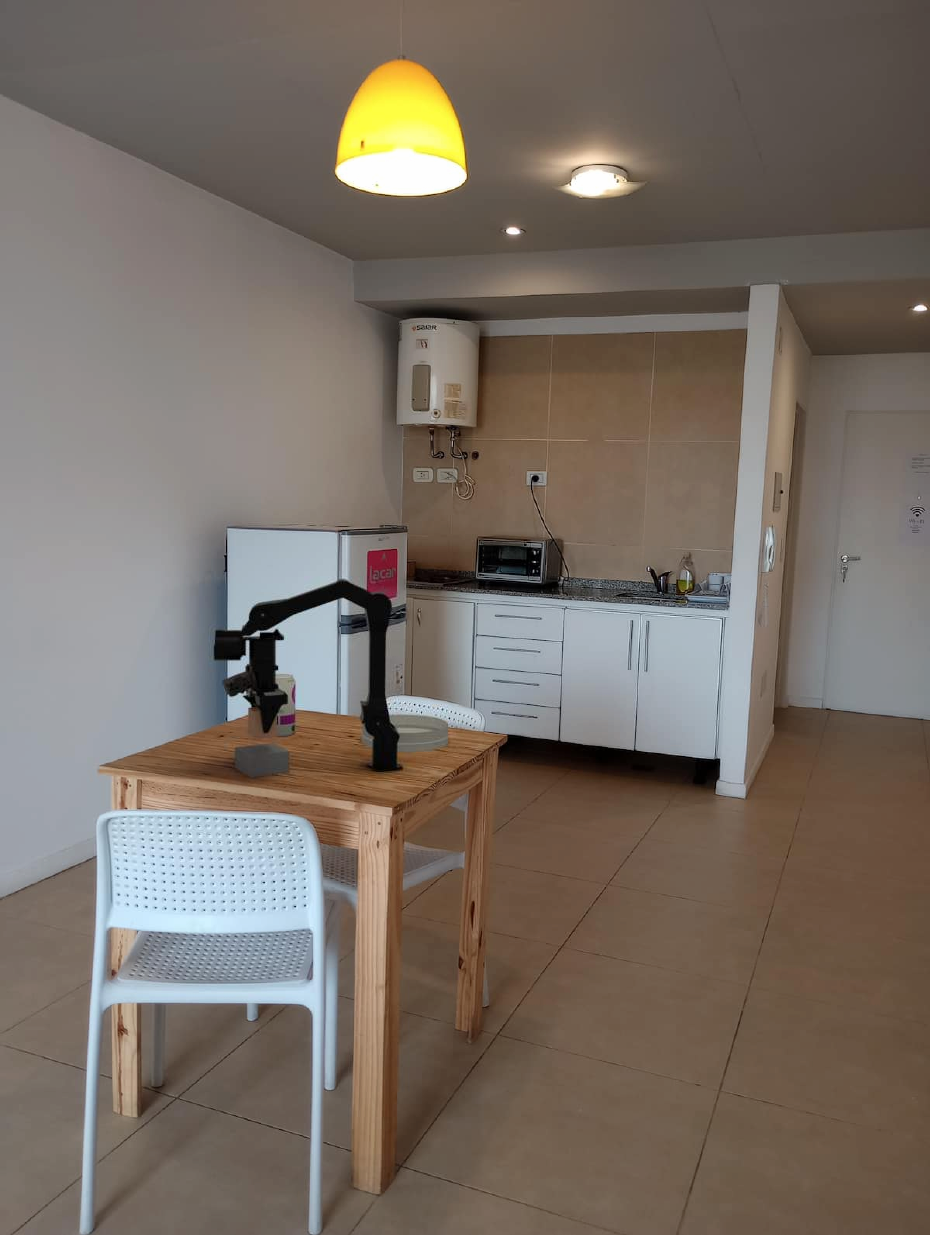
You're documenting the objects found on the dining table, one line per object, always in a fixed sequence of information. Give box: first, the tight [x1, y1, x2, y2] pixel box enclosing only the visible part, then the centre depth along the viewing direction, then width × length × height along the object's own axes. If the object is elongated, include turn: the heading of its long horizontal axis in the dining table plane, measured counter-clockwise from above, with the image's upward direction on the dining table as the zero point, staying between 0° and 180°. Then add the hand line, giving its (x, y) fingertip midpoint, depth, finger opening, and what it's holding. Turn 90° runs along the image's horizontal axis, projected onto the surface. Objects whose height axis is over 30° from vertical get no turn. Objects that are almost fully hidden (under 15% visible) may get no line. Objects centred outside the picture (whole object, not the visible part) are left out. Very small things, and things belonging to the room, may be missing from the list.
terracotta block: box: [247, 707, 278, 740], centre depth 216 cm, size 5×5×6 cm
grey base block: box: [234, 742, 290, 778], centre depth 217 cm, size 9×9×5 cm
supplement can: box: [276, 673, 297, 737], centre depth 253 cm, size 8×8×15 cm
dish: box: [360, 714, 450, 753], centre depth 248 cm, size 22×22×5 cm
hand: (262, 730), depth 216 cm, fingers closed on terracotta block, 5 cm apart
